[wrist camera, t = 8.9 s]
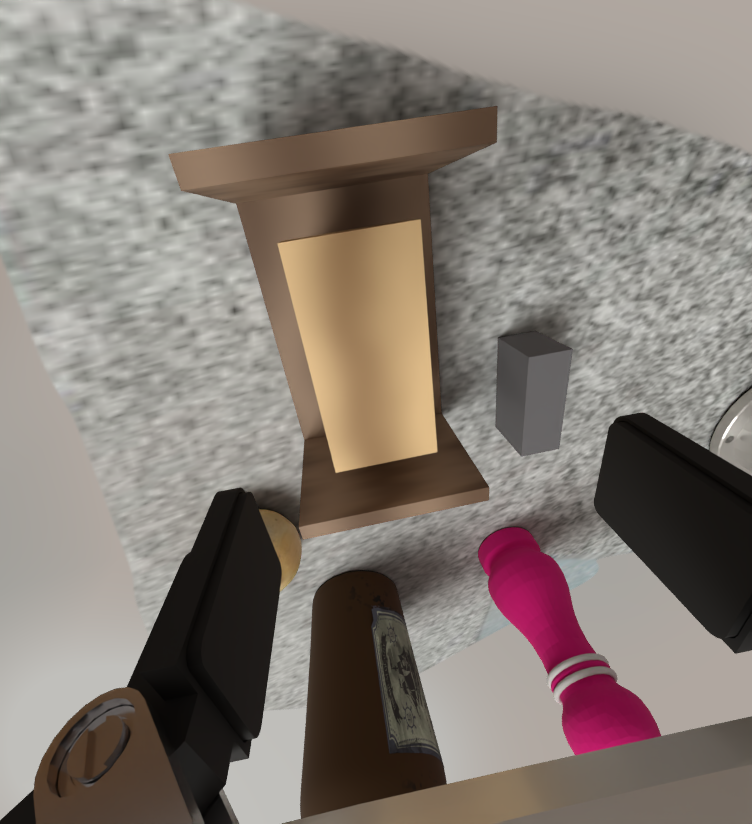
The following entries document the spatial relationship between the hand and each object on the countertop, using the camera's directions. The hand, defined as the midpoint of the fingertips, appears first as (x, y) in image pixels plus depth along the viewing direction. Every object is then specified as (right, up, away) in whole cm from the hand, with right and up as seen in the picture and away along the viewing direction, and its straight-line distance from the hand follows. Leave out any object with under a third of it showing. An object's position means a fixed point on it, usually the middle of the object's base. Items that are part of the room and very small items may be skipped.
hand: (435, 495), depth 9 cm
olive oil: (-4, -18, +30) cm, 35 cm away
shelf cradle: (-3, +8, +15) cm, 18 cm away
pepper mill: (+12, -12, +29) cm, 34 cm away
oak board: (-2, +6, +10) cm, 12 cm away
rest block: (+10, +5, +20) cm, 22 cm away
